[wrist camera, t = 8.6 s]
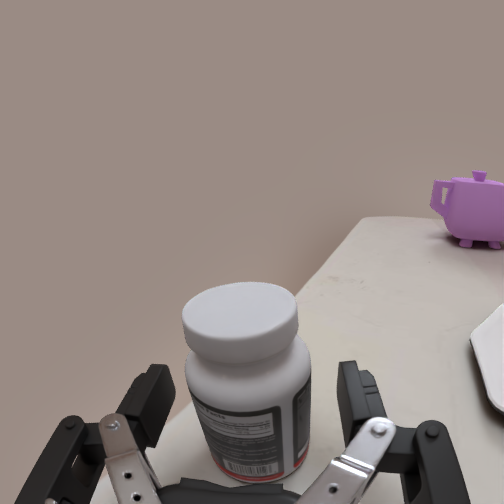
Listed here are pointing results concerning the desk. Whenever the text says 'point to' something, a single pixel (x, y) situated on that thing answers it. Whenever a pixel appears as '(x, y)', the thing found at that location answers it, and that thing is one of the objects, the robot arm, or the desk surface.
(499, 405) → the plate
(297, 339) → the pill bottle
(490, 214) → the teapot
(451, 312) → the desk surface
